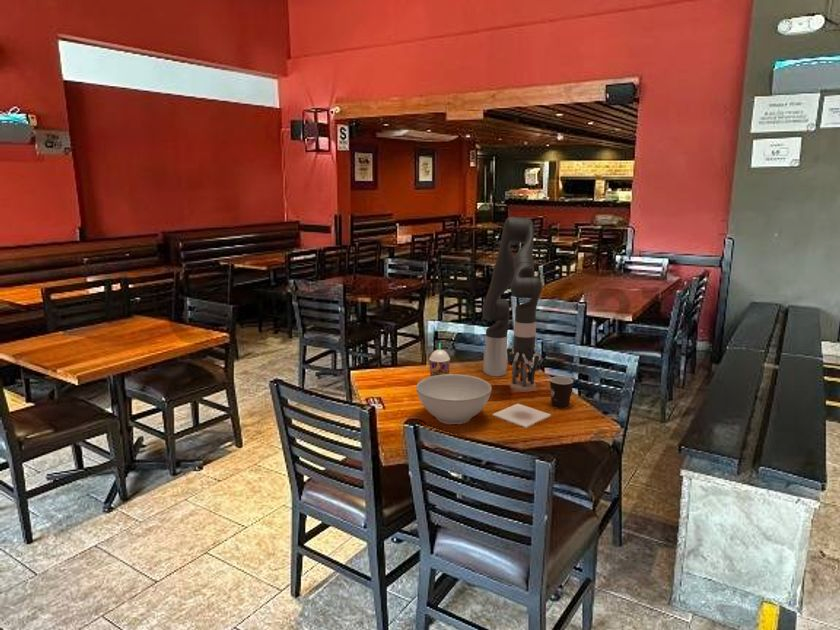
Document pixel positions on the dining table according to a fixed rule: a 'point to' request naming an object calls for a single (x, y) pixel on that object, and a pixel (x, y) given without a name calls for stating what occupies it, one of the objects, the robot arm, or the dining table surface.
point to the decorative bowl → (453, 396)
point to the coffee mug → (560, 391)
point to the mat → (521, 415)
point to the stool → (521, 379)
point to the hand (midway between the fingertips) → (523, 379)
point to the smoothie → (439, 362)
